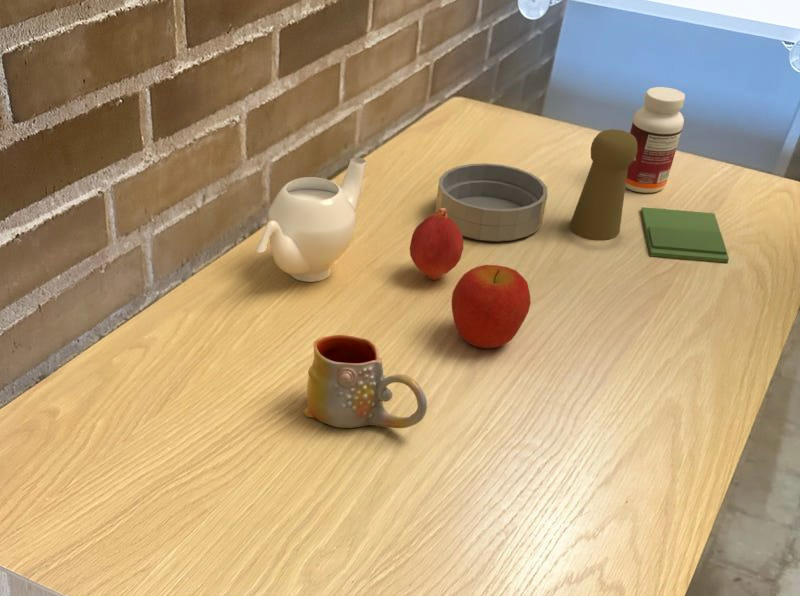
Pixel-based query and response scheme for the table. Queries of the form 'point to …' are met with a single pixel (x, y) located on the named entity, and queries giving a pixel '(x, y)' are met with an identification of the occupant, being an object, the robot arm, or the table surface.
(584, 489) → the table surface
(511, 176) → the pan
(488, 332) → the apple
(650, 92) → the pill bottle
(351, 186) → the teapot
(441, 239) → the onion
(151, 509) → the table surface
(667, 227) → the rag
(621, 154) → the brown tapered knob piece
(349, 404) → the mug
